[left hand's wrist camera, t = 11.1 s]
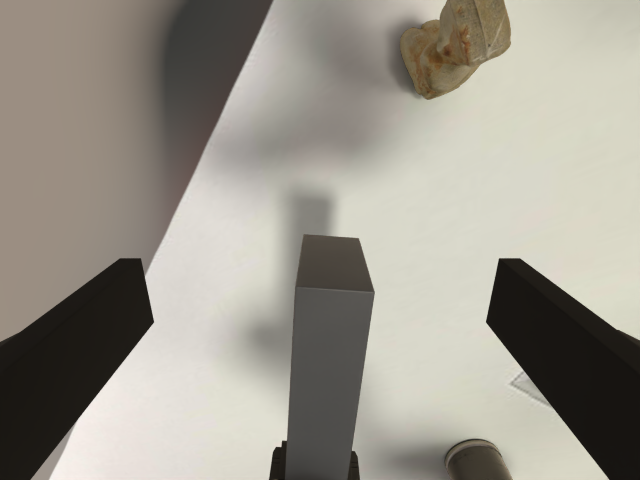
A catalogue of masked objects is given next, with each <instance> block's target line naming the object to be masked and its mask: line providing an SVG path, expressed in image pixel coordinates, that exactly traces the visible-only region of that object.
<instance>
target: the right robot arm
mask: <svg viewBox="0 0 640 480" xmlns="http://www.w3.org/2000/svg"><path fill="white" fill-rule="evenodd" d="M286 452H287V441H282V447H276V448H275V450H274V451H273V456H272V464H271V470H270V477H269V480H285V471H286ZM445 466H446V469H447V471H448V474H449V475H450V478H451V480H513V479H512V477H511V475H510V473H509V471H508V469H507V467H506V465H505V463H504V461H503V460H502V456H501V454H500V452H499V451H498V449H497V448H496V446H494V445H493V444H491V443H489V442H487V441H482V440H471V441H466V442H463V443H461V444H459V445H457V446H455V447H454V448H452V449H451V450H450V451H449V453H448V454H447V456H446V459H445ZM347 480H360V476H359V466H358V457H357V455H356V453H355V451H351V458H350V464H349V471H348V478H347Z"/></svg>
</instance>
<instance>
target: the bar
mask: <svg viewBox="0 0 640 480" xmlns="http://www.w3.org/2000/svg"><path fill="white" fill-rule="evenodd" d="M374 294H375V292H374V288H373V285H372V282H371V278H370V275H369V271H368V268H367V264H366V261H365V258H364V254H363V251H362V247H361V244H360V241H359V238H347V237H333V236H319V235H305V234H304V235H303V241H302V247H301V254H300V260H299V267H298V273H297V279H296V286H295V302H294V321H293V340H292V358H291V377H290V396H289V415H288V433H287V452H286V471H285V480H347V478H348V471H349V464H350V458H351V451H352V444H353V437H354V430H355V423H356V417H357V410H358V403H359V396H360V389H361V383H362V376H363V369H364V362H365V355H366V348H367V342H368V335H369V328H370V321H371V314H372V307H373V301H374Z"/></svg>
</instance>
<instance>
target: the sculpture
mask: <svg viewBox="0 0 640 480" xmlns="http://www.w3.org/2000/svg"><path fill="white" fill-rule="evenodd" d="M510 36H511V29H510V22H509V17H508V14H507V10H506V7H505V3H504V0H447V2H446V4H445V6H444V8H443V9H442V12H441V14H440V20H431V21H428V22H426V23H425V24H423V25H422V27H421V29H417V28H414V27H413V28H411V29H408V30H406V31H405V32H404V34H403V35H402V37H401V40H400V50H401V54H402V57H403V60H404V63H405V65H406V68H407V70H408V72H409V74H410V76H411V78H412V80H413V83H414V86H415V90H416V92H417V93H418V94H421V95H423V97H424V98H425V99H427V100H429V99H433V98H436V97H439V96H441V95H444V94H446V93H448V92H451V91H453V90H455V89H456V88H458V87H459V86H460V85H461V84H463V83H464V82H465V81H466V80H467V79H468V78H469V77H470V76H471V75H472V74H473V73H474V72H475V71H476V70H477V68H478V67H479V66H480V64H482V63H484V62H486V61H488V60H490V59H492V58H495V57H498V56H500V55H501V54H503V53H504V52H505V51H506V50H507V49H508V48H509V47H510V45H511V41H510Z"/></svg>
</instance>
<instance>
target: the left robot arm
mask: <svg viewBox="0 0 640 480" xmlns="http://www.w3.org/2000/svg"><path fill="white" fill-rule="evenodd" d="M153 323H154V320H153V315H152V310H151V305H150V300H149V295H148V291H147V286H146V281H145V276H144V271H143V266H142V261H141V258H120V259H119V260H117V261H116V262H115V263H113V264H112V265H110V266H109V267H108V268H106V269H105V270H104V271H102V272H101V273H100V274H98V275H97V276H96V277H94V278H93V279H92V280H90V281H89V282H87V283H86V284H85V285H83V286H82V287H81V288H79V289H78V290H77V291H75V292H74V293H73V294H71V295H70V296H68V297H67V298H66V299H64V300H63V301H62V302H60V303H59V304H58V305H56V306H55V307H54V308H52V309H51V310H50V311H48V312H47V313H45V314H44V315H43V316H41V317H40V318H39V319H37V320H36V321H35V322H33V323H32V324H31V325H29V326H28V327H26V328H25V329H24V330H22V331H21V332H19V333H17V334H15V335H13V336H11V337H9V338H7V339H5V340H3V341H1V342H0V480H31V478H32V477H33V476H34V474H35V473H36V472H37V471H38V469H39V468H40V467H41V466H42V464H43V463H44V462H45V460H46V459H47V458H48V457H49V455H50V454H51V453H52V452H53V450H54V449H55V448H56V446H57V445H58V444H59V443H60V441H61V440H62V439H63V438H64V436H65V435H66V434H67V432H68V431H69V430H70V429H71V427H72V426H73V425H74V424H75V422H76V421H77V420H78V418H79V417H80V416H81V415H82V413H83V412H84V411H85V410H86V408H87V407H88V406H89V404H90V403H91V402H92V401H93V399H94V398H95V397H96V396H97V394H98V393H99V392H100V390H101V389H102V388H103V387H104V385H105V384H106V383H107V382H108V380H109V379H110V378H111V376H112V375H113V374H114V373H115V371H116V370H117V369H118V367H119V366H120V365H121V364H122V362H123V361H124V360H125V359H126V357H127V356H128V355H129V353H130V352H131V351H132V350H133V348H134V347H135V346H136V345H137V343H138V342H139V341H140V339H141V338H142V337H143V336H144V334H145V333H146V332H147V331H148V329H149V328H150V327H151V325H152V324H153ZM486 323H487V324H488V325H489V327H490V328H491V329H492V331H493V332H494V333H495V334H496V336H497V337H498V338H499V339H500V341H501V342H502V343H503V345H504V346H505V347H506V348H507V350H508V351H509V352H510V353H511V355H512V356H513V357H514V359H515V360H516V361H517V362H518V364H519V365H520V366H521V367H522V369H523V370H524V371H525V373H526V374H527V375H528V376H529V378H530V379H531V380H532V382H533V383H534V384H535V385H536V387H537V388H538V389H539V390H540V392H541V393H542V394H543V396H544V397H545V398H546V399H547V401H548V402H549V403H550V404H551V406H552V407H553V408H554V410H555V411H556V412H557V413H558V415H559V416H560V417H561V418H562V420H563V421H564V422H565V424H566V425H567V426H568V427H569V429H570V430H571V431H572V432H573V434H574V435H575V436H576V438H577V439H578V440H579V441H580V443H581V444H582V445H583V446H584V448H585V449H586V450H587V452H588V453H589V454H590V455H591V457H592V458H593V459H594V460H595V462H596V463H597V464H598V466H599V467H600V468H601V469H602V471H603V472H604V473H605V474H606V476H607V477H608V478H609V480H640V340H638V339H636V338H634V337H632V336H630V335H628V334H626V333H624V332H622V331H620V330H616V329H615V328H614V327H612V326H611V325H609V324H608V323H607V322H605V321H604V320H603V319H601V318H600V317H599V316H597V315H596V314H595V313H593V312H592V311H591V310H589V309H588V308H586V307H585V306H584V305H582V304H581V303H580V302H578V301H577V300H576V299H574V298H573V297H572V296H570V295H569V294H567V293H566V292H565V291H563V290H562V289H561V288H559V287H558V286H557V285H555V284H554V283H553V282H551V281H550V280H549V279H547V278H546V277H544V276H543V275H542V274H540V273H539V272H538V271H536V270H535V269H534V268H532V267H531V266H530V265H528V264H527V263H525V262H524V261H523V260H521V259H520V258H499V261H498V266H497V271H496V276H495V281H494V286H493V291H492V295H491V300H490V305H489V310H488V315H487V320H486Z"/></svg>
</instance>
